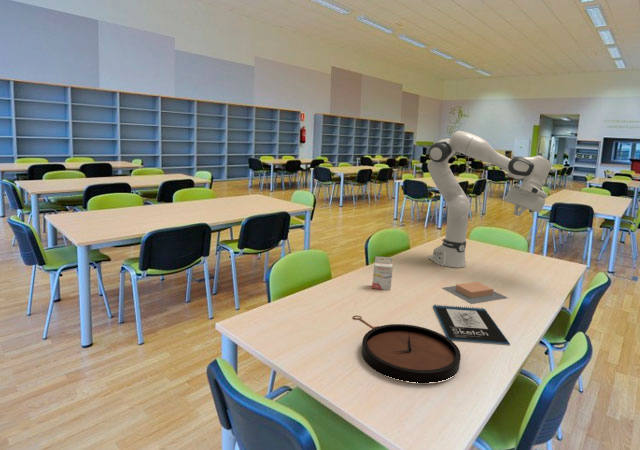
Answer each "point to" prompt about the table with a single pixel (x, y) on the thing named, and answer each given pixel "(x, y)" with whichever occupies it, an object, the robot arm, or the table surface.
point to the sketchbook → (469, 325)
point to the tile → (474, 289)
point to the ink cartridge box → (382, 273)
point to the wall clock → (410, 353)
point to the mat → (475, 300)
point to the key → (363, 321)
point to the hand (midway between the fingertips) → (516, 215)
